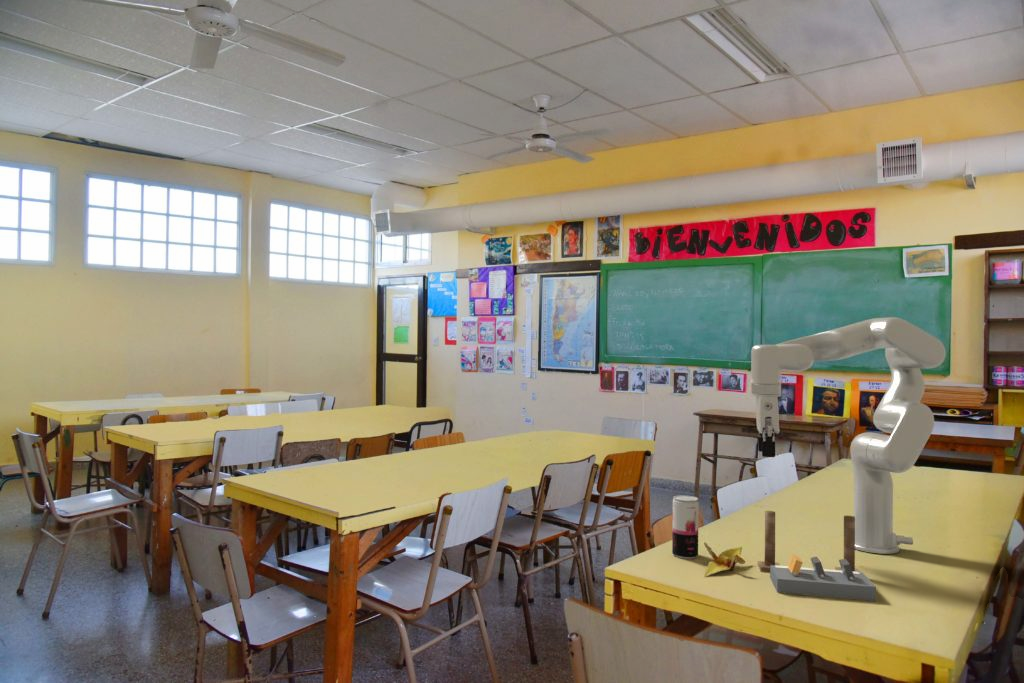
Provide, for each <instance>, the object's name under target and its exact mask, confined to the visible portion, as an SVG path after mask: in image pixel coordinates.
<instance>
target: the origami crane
mask: <svg viewBox="0 0 1024 683" xmlns="http://www.w3.org/2000/svg"><path fill="white" fill-rule="evenodd" d="M703 544H704V547H705V548H706V550H707V552H708V554H709V555H710V556H711V558H712V559H713V561H709V562H708V565H707V568H706V571H705V573H704V577H705V578H706V577H708V576H711V575H714V574H717V573H719V572H721V571H727V570H729V571H730V572H732V571H733V570H734V569H735V567H736V565H737V564H738V563H739V564H740V565H744V564H745V563H746V561H745V559H743V557H741V554H742V551H743V546H738V547H737V546H736V547H733V548H728V549H726V550H723V551H722V552H721V553H720V554H718V555H717V554H716V552H714V551H713V550H712V547H711V545H710V544H708V543H707V542H706V541H704V543H703Z"/></svg>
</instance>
